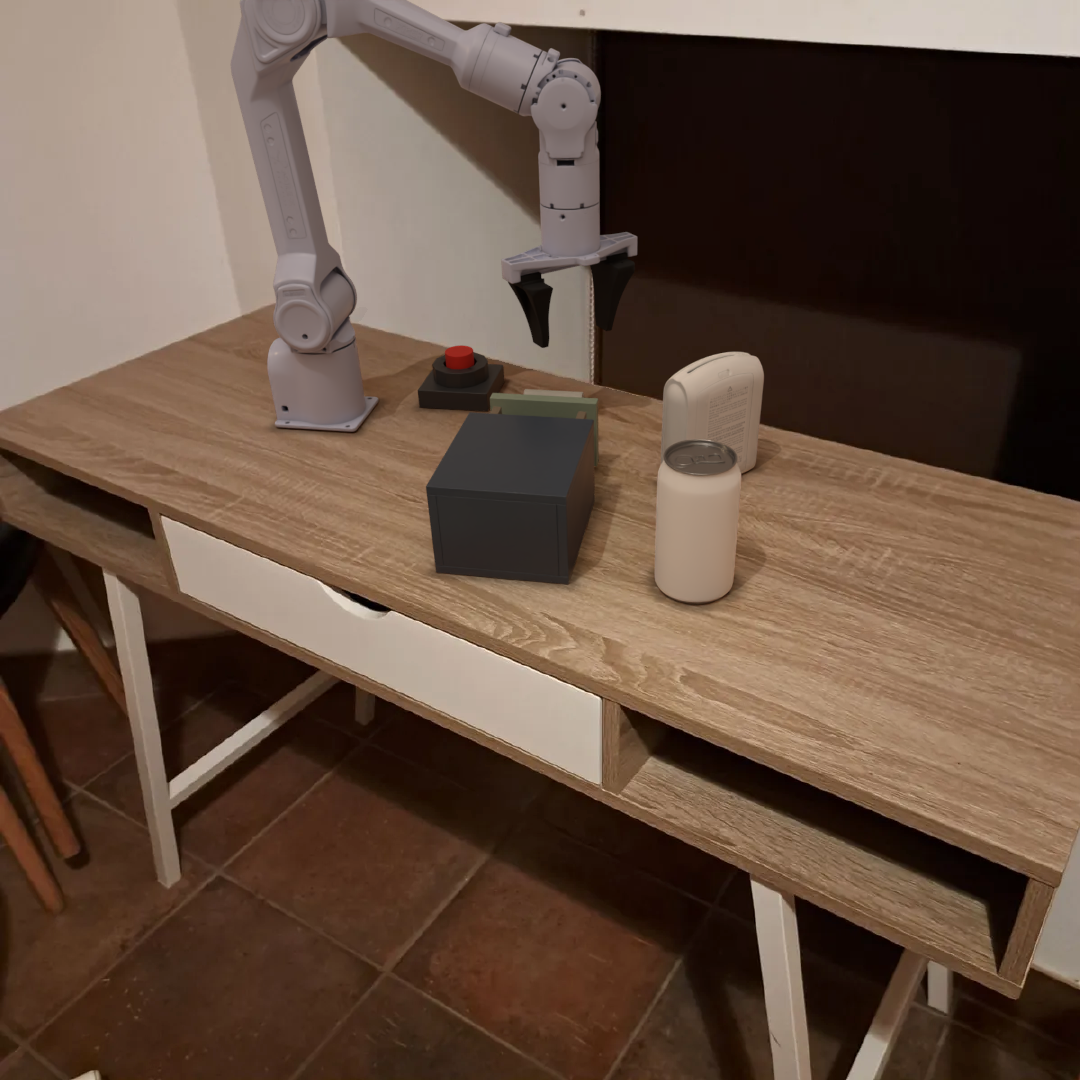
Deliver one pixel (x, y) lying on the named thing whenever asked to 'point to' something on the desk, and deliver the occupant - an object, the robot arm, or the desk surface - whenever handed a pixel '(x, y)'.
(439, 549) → the cabinet
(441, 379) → the control block
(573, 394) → the drawer
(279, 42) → the robot arm
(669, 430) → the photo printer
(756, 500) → the desk surface
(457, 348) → the button
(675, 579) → the can
